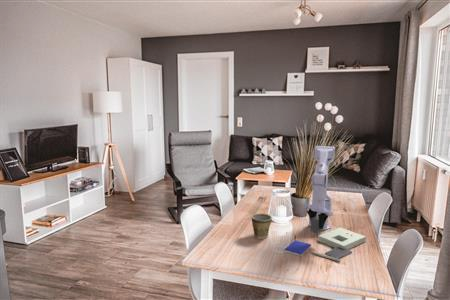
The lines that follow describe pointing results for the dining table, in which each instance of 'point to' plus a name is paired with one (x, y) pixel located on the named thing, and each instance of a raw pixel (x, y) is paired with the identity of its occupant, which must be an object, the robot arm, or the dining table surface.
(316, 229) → the grey rectangular block
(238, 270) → the dining table surface
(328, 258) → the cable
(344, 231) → the outlet plate
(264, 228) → the ceramic cup
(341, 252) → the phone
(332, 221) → the dining table surface
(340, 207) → the dining table surface
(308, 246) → the hard drive
